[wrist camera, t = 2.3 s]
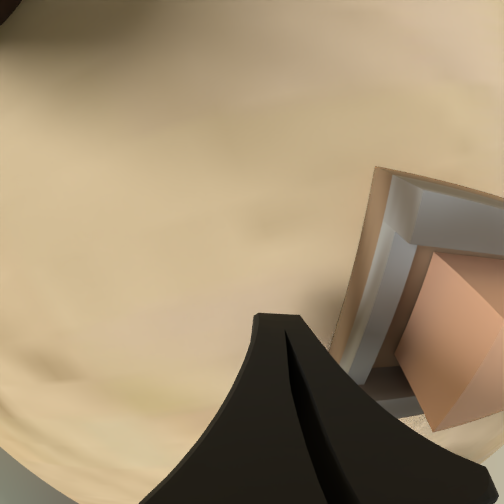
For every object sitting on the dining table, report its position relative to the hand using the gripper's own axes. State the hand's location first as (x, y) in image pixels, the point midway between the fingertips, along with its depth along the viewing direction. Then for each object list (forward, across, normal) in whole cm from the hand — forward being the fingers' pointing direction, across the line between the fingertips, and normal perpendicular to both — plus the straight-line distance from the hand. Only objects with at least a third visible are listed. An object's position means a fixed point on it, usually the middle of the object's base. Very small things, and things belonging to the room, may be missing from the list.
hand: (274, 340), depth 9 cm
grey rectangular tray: (+4, -16, 0) cm, 17 cm away
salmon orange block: (+2, -9, 0) cm, 9 cm away
